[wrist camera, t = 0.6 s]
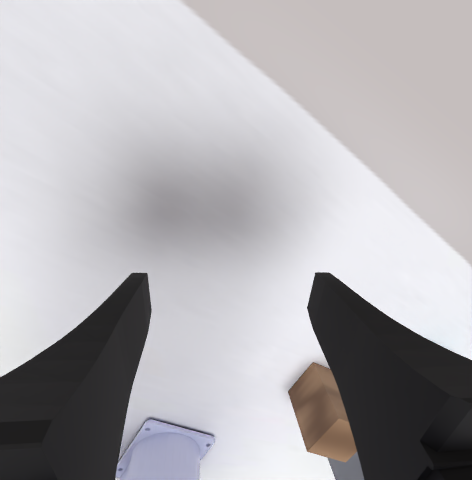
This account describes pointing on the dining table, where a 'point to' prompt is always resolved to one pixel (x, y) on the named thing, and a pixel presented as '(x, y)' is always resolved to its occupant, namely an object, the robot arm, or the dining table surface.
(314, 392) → the walnut block
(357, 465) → the charcoal block
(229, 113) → the dining table surface
